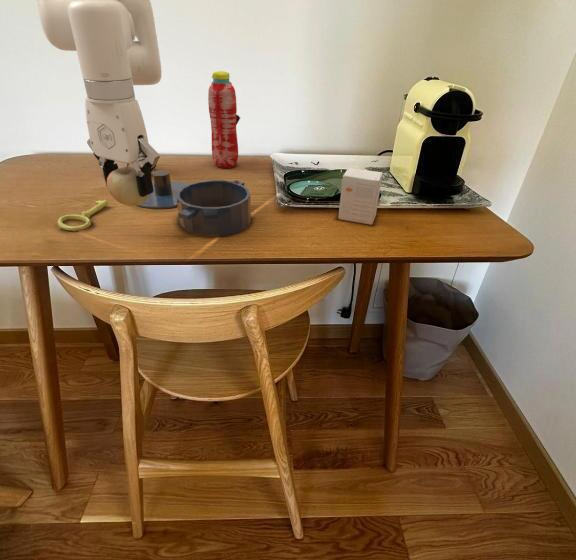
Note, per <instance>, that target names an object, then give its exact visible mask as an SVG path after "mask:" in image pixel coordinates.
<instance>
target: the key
mask: <svg viewBox="0 0 576 560" xmlns="http://www.w3.org/2000/svg"><path fill="white" fill-rule="evenodd" d="M94 203H95V205H94V206H93V207H91V208H90V209H88V210H87V211H82V212H81V214H76V213H75V214H74V213H72V214H65V215H62V216H60V217H59V218H58V219H57V225H58V226H59V228H60V229H62V230H64V231H70V232H78V231H79V230H84V229H88V228H89V227H91V226H92V221H91V219H90V218H91V216H93V215H94V214H96V213H98V212H99V211H101V210H102V209H104V208H105V207H107V206H108V205H109V201H108V200H107V199H103V200H100V199H98V200H96V201H95V202H94ZM68 220H76V221H77V220H78V221H82V222H84V224H81V225H67V224H65V223H63V222H65V221H68Z"/></svg>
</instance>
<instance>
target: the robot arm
mask: <svg viewBox="0 0 576 560" xmlns="http://www.w3.org/2000/svg"><path fill="white" fill-rule="evenodd" d="M36 3H37V9H38V10H37V11H38V17H39V20H40V24H41V27H42V31H43V34H44V35H45V38H46V39H47V40H48V42H49V43H50V44H51V45H52V46H53V47H55V48H56V49H58V50H61V51H65V52H67V51H68V52H76V54H77V58H78V62H79V67H80V71H81V75H82V79H83V84H84V88H85V92H86V96H87V97H85V98H84V99H85V102H84V104H85V106H84V107H85V118H86V125H87V132H88V137H89V139H88V140H87V141H86V144H87V145H88V147H89V148H90V150H91V151H92V153H93V156H94V157H95V158H96V160H97V161H98V166H99V167H100V168H101V169H102V171H103V177H104V181H105V182H104V183H105V185H106V187H107V178H108V176H109V174H110V173H111V172H112V171H114V170H116V169H119V168H122V167H127V163H128V164H129V166H128V167H134V168H135V170H136V172H137V173H138V176H136V181H137V186H138V191H139V195H140V196H141V197H144V196H146V195H149V194H151V193H153V191H154V190H153V184H152V182H153V176H152V173H153V172H154V171H155V168H156V167H157V164H158V162H159V159H160V153H158V152H157V151H156V149H155V148H154V147H153V146H152V145H151V144H150V143H149V138H148V132H147V128H146V125H145V121H144V117H143V114H142V113H143V112H142V110H141V107H140V104H139V101H138V99H136V94H135V89H134V86H153V85H157V84H159V83H160V82H161V80H162V62H161V55H160V49H159V43H158V36H157V29H156V22H155V17H154V10H153V7H152V6H153V5H152V2H151V0H36ZM136 39H137V40H136Z"/></svg>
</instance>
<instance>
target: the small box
mask: <svg viewBox="0 0 576 560" xmlns="http://www.w3.org/2000/svg"><path fill="white" fill-rule="evenodd" d="M382 179H383V172H382V171H375V170H368V169H359V168H353V167H348V168H347V170H346V171H345V172H344V174H343V175H342V181H341V188H340V189H341V190H340V197H339V198H340V199H339V207H338V208H339V209H338V217H337V219H338V220H340V221H341V220H342V221H347V222H353V223H360V224H366V225H370V226H371V225H373V224H374V221H375V218H376V216H377V211H378V204H379V198H380V192H381V186H382Z"/></svg>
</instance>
